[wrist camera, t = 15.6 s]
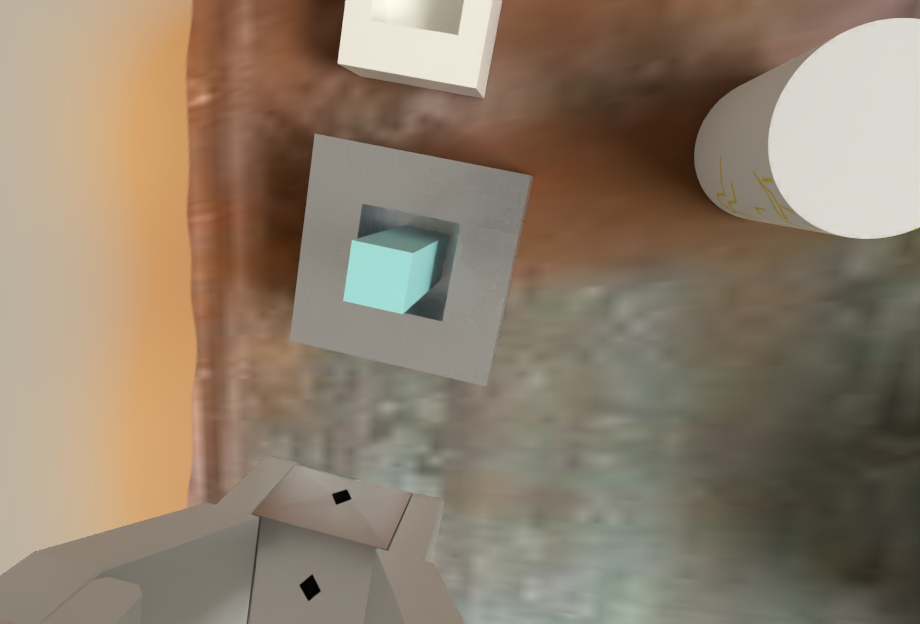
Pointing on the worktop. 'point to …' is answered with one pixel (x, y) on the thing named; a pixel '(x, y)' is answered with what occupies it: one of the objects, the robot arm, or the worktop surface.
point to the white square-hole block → (421, 42)
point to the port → (424, 207)
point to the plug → (394, 267)
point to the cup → (823, 137)
